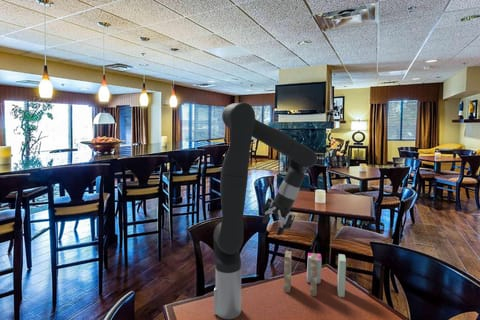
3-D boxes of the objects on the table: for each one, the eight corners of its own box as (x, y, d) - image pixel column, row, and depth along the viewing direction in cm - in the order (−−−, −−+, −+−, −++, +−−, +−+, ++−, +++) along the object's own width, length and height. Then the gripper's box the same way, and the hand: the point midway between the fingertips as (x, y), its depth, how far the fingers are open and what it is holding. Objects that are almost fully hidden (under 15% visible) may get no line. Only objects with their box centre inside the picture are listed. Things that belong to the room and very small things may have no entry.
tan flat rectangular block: (283, 291, 124) (284, 256, 122) (285, 284, 130) (285, 250, 128) (289, 292, 123) (290, 257, 121) (290, 285, 129) (291, 251, 127)
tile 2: (310, 295, 121) (311, 259, 120) (310, 287, 127) (311, 253, 125) (316, 296, 121) (317, 260, 119) (316, 288, 127) (317, 253, 125)
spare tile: (338, 296, 121) (339, 260, 119) (337, 288, 127) (338, 254, 125) (344, 297, 120) (346, 261, 118) (343, 289, 126) (344, 254, 124)
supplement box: (320, 284, 129) (321, 259, 128) (306, 283, 130) (307, 258, 129) (320, 278, 135) (321, 253, 133) (306, 276, 136) (307, 252, 135)
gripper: (269, 184, 122) (254, 219, 126) (294, 202, 112) (277, 239, 116) (280, 185, 127) (265, 218, 131) (306, 203, 118) (289, 238, 121)
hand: (271, 228), depth 124 cm, fingers open, 8 cm apart
